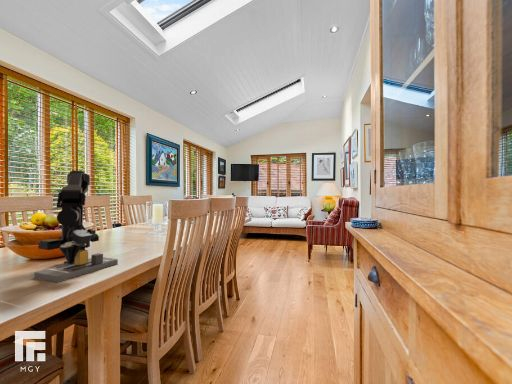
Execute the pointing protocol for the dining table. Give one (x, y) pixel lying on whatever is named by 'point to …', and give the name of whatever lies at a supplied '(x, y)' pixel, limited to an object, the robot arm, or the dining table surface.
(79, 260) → the toggle
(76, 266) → the panel
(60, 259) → the dining table surface
